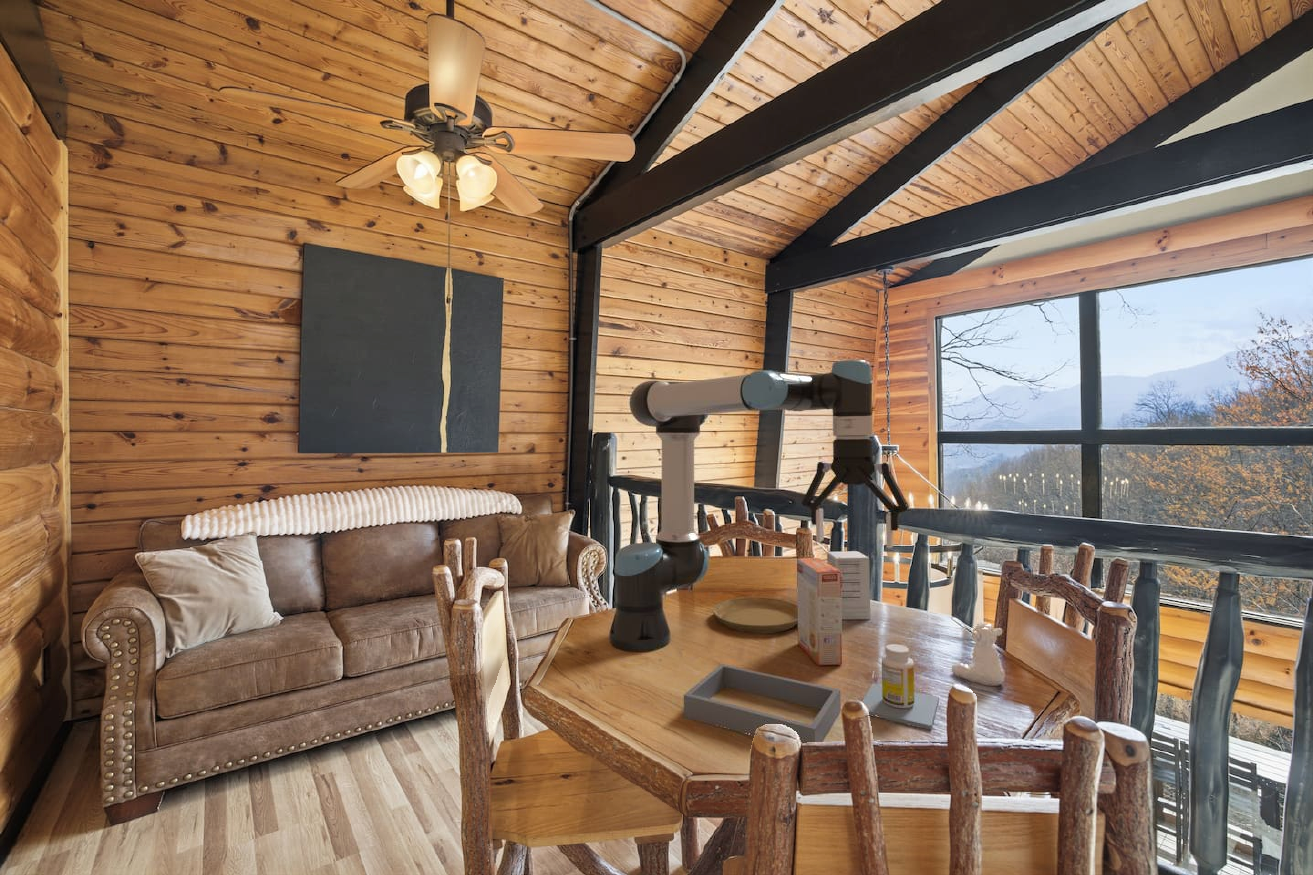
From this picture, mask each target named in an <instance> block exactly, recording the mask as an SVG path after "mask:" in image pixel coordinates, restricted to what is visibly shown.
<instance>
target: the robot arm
mask: <svg viewBox="0 0 1313 875" xmlns="http://www.w3.org/2000/svg"><path fill="white" fill-rule="evenodd" d="M873 382H874V381H873V380H872V365H871V363H870V362H869V361H867V360H864V359H846V360H839V361H835V362H832V365H831V372H826V373H814V374H813V373H812V374H806V373H793V372H792V373H791V372H783V371H782V372H781V371H775V370H771V369H767V370H764V369H762V370H756V371H753V372H751V373H750V374H749V373H748V374H742V375H741V374H740V375H734V376H733V375H731V376H727V377H724V376H723V377H718V378H710V379H702V380H701V379H700V380H693V381H692V380H691V381H687V382H685V381H684V382H683V381H680V382H679V381H664V380H648V381H644V382H642V383H640V384H638V385H637V386H636V387H635V388H634V389H633V390H632V392H631V394H630V396H629V409H630V412H631V414H632V416H633V417H634V419H635V420H636V421H637V422H639V423H640V424H642V425H644V426H646V427H647V426H648V427H653V428H654V427H655V434H656V435H657V436H658V437H659V438H660V440H661V530H660V531H659V532H658V533H657V534H656V536H655V542H652V541H645V542H639V543H637V542H635V543H631V544H628V545H625V546H623V547H622V548H619V550H618V551H617V552H616V555H615V563H614V564H615V565H614V574H615V575H614V576H615V612H614V616H613V619H612V622H611V626H610V630H609V634H608V635H609V638H608V639H609V644H610V645H611V646H612V647H614V648H616V649H617V650H618V649H619V650H623V651H627V652H646V651H647V652H648V651H653V650H658V649H661V648H664V647H665V646H667V645H668V644H669V643H671V642H670V641H671V629H670V626H669V624H668V621H667V620H668V619H667V617H666V615H665V611H664V606H663V604H664V602H663V601H664V600H663V593H667V592H671V591H674V590H677V589H681V588H687V587H691V586H692V585H694V584H696V583H699V582H700V581H701V580H702V579H703V578H704V577H705V575H706V574H707V571H708V567H709V562H710V561H709V554H708V551H707V550H706V549H705V548H706V547H705V545H704V544H703V543H702V542H701V541H700V539H701V538H700V535H699V534H698V533H697V532H696V531H695V440H696V439H697V437H699V435H701V425H703V424H704V423H705V422H706V419H707V418H708V417H709V415H711V414H723V413H724V414H725V413H738V412H739V413H741V412H752V411H754V412H755V411H756V412H757V411H769V410H770V411H771V410H772V411H773V410H774V411H775V410H778V411H779V410H780V411H781V410H786V411H789V412H790V411H792V412H803V411H819V410H832V436H833V437H835V439H834V440H833V441H832V442H833V443H832V445H833V446H832V451H833V452H832V453H833V454H832V456H833V458H832V462H826V461H818V462H817V464H816V473H815V475H814V477H813V478H812V481H811V483H810V485H809V486H808V489H807V491H806V494H805V495H804V497H803V500H802V502H801V505H803V506H805V507H807V508H809V509H810V511H811V512H810V514H811V515H810V516H811V521H810V522H811V524H812V526H813V525H814V526H815V532H816V533H815V538H816V539H815V540H816V543H821V542H822V541H824V539H825V538H824V537H825V536H824V534H825V533H824V532H825V530H824V527H825V526H824V508H820V507H821V506H822V505H823V503H824V502H825V501H826V500H827V498H829V497H830V496H831V494H832V493H833V492H834V491H835V490H836V489H837V487H838V486H839V485H840V484H841V483H842V484H843V485H845V486H846V485H855V486H861V485H863V484H865V486H866V487H867V488H869V489H870V491H872V493H873V494H874V495H875V496H876V497H877V499H878V500H879V501H880V502H881V503H882V505H883V506H884V507H885V508H886V509H887V510H888V512H887V513H886V514H885V515H886V516H885V517H886V518H885V520H886V521H885V522H886V526H885V527H886V549H892V548H893V547H894V531H896V532H897V531H898V530H899V527H900V526H899V525H900V523H899V521H900V520H899V519H900V517H899V516H900V513H903V512H906V511H907V510H909V509H910V505H909V503H908V501H907V500H906V498H905V496H904V494H903V493H902V490H901V489H900V487H899V485H898V483H897V481H896V479H895V478H894V475H893V474H892V468H891V464H890V462H889V461H888V462H885V461H884V462H883V463H875V462H874V446H873V444H874V443H873V441H874V440H872V439H871V438H870V437H871V436H872V437H873V428H874V426H873V406H872V405H873ZM830 469H831V470H832V472H833V473H834V475H835V476H834V477H833V478H832V480H831V481H830V483H829V484H828V485H826V487H825V488H824V489H823V490H822V491H821V493H820V494H819V495H818V496H817V497H816V499H815V500H814V497H815V496H816V493H817V491H818V489H819V487H820V486H821V483H822V482H823V479H824V478H825V475H826V474H827V473H828V472H829V471H830ZM875 471H878V473H879V474H880V475H882V476H883V479H884V481H885V483H886V485H887V486H888V489H889V491H890V492H891V495H892V496H893V498H894V500H895V502H896V503H895V502H894V501H893V500H892V499H891V497H890V496H889V495H887V493H886V491H884V490H883V488H881V486H880V485H879V484H878V483H877V481H876V480H875V479H874V478H873V477H872V475H873V474H874V472H875ZM813 500H814V501H813ZM896 504H897V505H896Z"/></svg>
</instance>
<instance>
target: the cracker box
mask: <svg viewBox="0 0 1313 875" xmlns="http://www.w3.org/2000/svg"><path fill="white" fill-rule="evenodd" d="M796 561H797V564H796V566H797V570H796V572H797V605H798V623H797V644H798V645H799V646H800V647H801V648H802V650H804V652H806V654H807V655H808V656H809V657H810V659H811V660H812V661H813V662H814V663H815V664H816V665H817V666H838V665H839V666H842V665H843V646H842V645H843V639H842V638H843V635H842V634H843V625H842V624H843V619H842V577H841V576H842V572H841V571H840V570H838V569H836V568H835V567H833V566H831V565H830V564H828V563H827V561H824V560H823V559H822V558H820V557H806V558H805V557H804V558H803V557H802V558H801V557H800V558H797V560H796Z"/></svg>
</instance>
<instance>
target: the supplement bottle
mask: <svg viewBox="0 0 1313 875" xmlns="http://www.w3.org/2000/svg"><path fill="white" fill-rule="evenodd" d="M881 686H882V698H883V700H884V702H885V703H886V704H888V705H890V706H892V707H895V708H910V707H912V706H913V705H914V702H915V697H914V692H915V663H914V660H913V659H912V658H911V657H910V649H909V648H908V647H907V646H906V645H902V644H895V643H894V644H893V643H891V644H887V645H886V646H885V655H883V656H882V657H881Z"/></svg>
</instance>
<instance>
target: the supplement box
mask: <svg viewBox="0 0 1313 875" xmlns="http://www.w3.org/2000/svg"><path fill="white" fill-rule="evenodd" d="M826 563H828V564H830V565H831V566H833V567H835V568H836V569H838V570H840V571H841V572H842V576H841V577H842V620H871V591H870V590H871V589H870V588H871V585H870V584H871V580H870V579H871V578H870V557H868V556H867V555H865V554H864V553H862V552H859V551H857V550H851V551H850V550H849V551H827V552H826Z"/></svg>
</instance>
